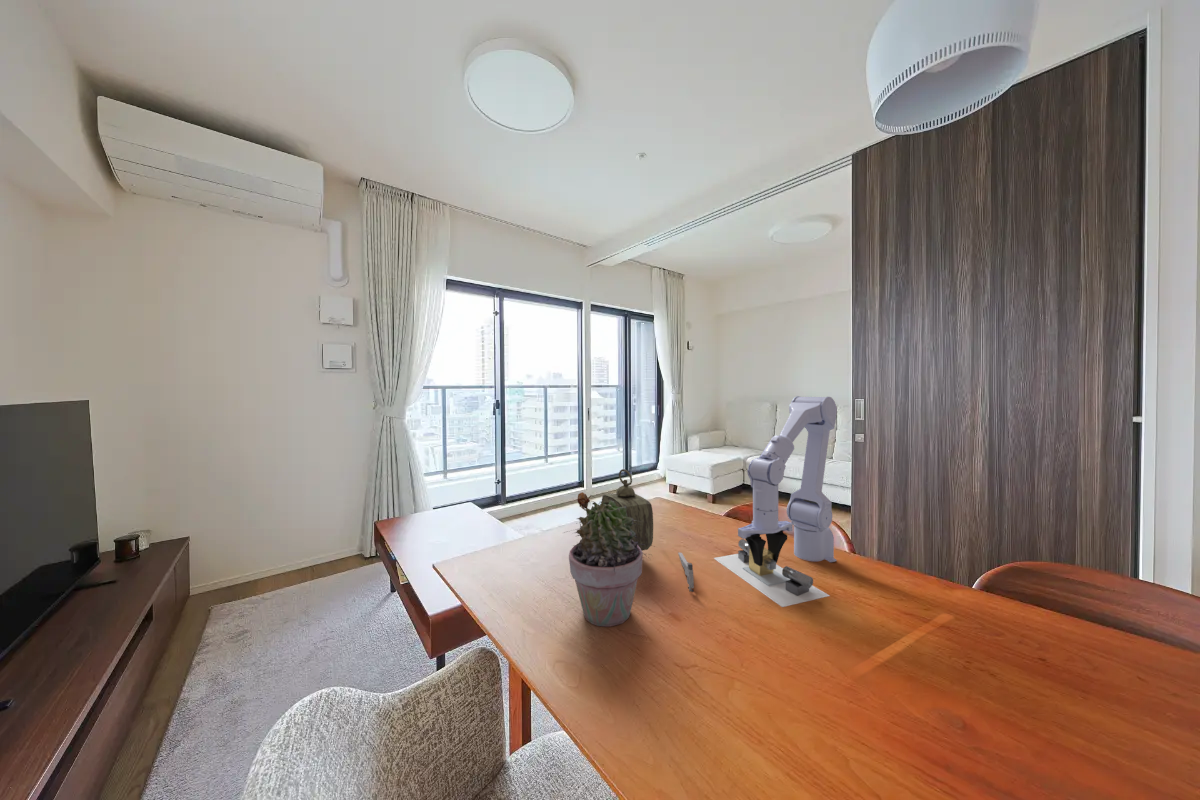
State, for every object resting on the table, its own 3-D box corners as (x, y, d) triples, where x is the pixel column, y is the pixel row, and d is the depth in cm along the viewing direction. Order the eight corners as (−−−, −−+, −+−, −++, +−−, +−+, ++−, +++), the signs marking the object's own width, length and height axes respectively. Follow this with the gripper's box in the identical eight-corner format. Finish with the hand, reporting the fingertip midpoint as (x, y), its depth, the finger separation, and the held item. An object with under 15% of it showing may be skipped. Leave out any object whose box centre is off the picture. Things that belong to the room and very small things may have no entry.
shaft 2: (779, 587, 91) (779, 568, 91) (791, 582, 93) (791, 564, 93) (803, 599, 86) (803, 579, 86) (815, 594, 88) (815, 574, 88)
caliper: (694, 593, 92) (693, 567, 91) (689, 593, 92) (689, 567, 92) (681, 555, 112) (680, 533, 112) (677, 555, 112) (677, 533, 112)
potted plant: (655, 646, 73) (653, 513, 72) (553, 635, 77) (550, 508, 76) (660, 595, 91) (658, 487, 90) (577, 588, 95) (575, 484, 94)
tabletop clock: (601, 552, 114) (600, 466, 113) (629, 546, 118) (628, 463, 117) (626, 573, 101) (624, 476, 100) (656, 566, 105) (654, 472, 104)
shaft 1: (735, 555, 108) (735, 539, 108) (749, 554, 109) (749, 538, 109) (746, 565, 102) (746, 548, 102) (761, 564, 103) (761, 547, 103)
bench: (753, 554, 111) (753, 549, 111) (830, 600, 87) (830, 594, 87) (713, 561, 107) (713, 556, 107) (782, 611, 83) (782, 605, 83)
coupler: (756, 561, 103) (757, 543, 103) (779, 577, 96) (780, 557, 95) (743, 564, 102) (744, 545, 101) (765, 580, 94) (766, 559, 94)
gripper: (777, 500, 103) (777, 551, 103) (730, 506, 98) (730, 560, 99) (799, 508, 96) (798, 563, 96) (748, 515, 91) (749, 573, 92)
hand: (765, 562), depth 97 cm, fingers closed on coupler, 4 cm apart
